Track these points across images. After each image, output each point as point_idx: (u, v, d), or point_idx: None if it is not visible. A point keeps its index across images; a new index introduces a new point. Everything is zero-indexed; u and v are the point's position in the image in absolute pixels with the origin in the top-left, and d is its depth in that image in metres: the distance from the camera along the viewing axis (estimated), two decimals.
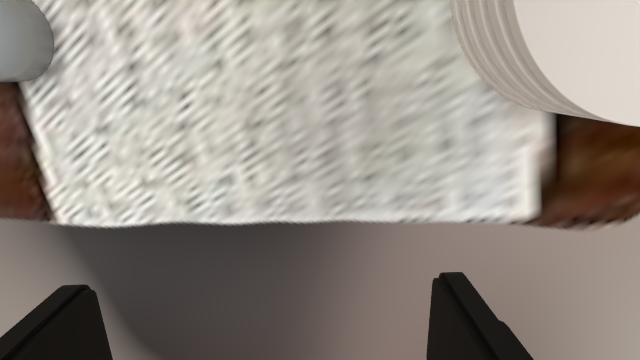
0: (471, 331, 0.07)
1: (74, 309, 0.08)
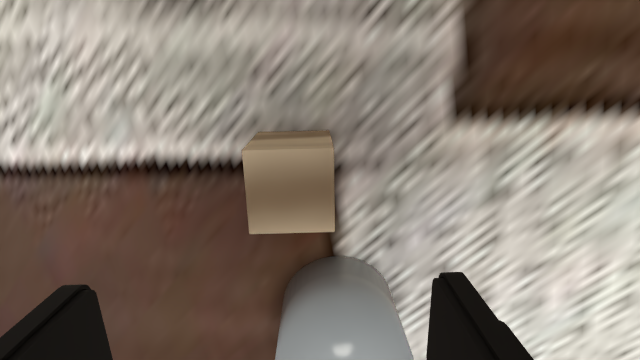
0: (471, 331, 0.07)
1: (74, 309, 0.08)
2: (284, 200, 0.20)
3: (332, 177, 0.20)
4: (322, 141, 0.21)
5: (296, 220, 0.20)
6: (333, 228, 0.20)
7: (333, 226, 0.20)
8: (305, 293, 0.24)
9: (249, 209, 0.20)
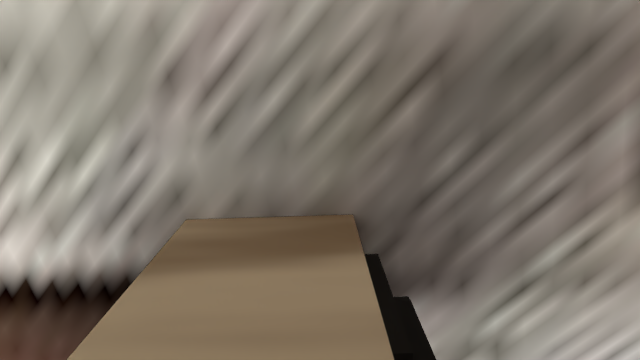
0: None
1: None
2: None
3: None
4: (346, 297, 0.07)
5: None
6: None
7: None
8: None
9: None
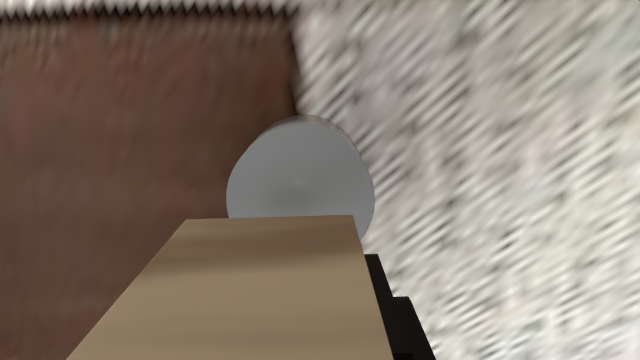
0: None
1: None
2: None
3: None
4: (345, 297, 0.07)
5: None
6: None
7: None
8: (262, 134, 0.23)
9: None
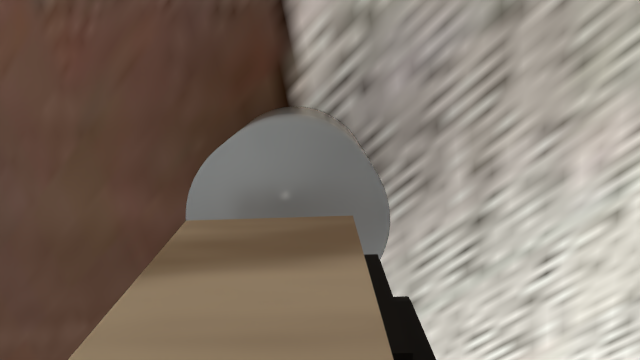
0: None
1: None
2: None
3: None
4: (346, 298, 0.07)
5: None
6: None
7: None
8: None
9: None
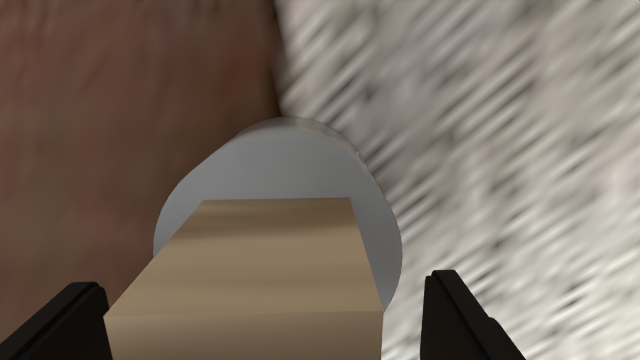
0: (461, 327, 0.07)
1: (84, 305, 0.08)
2: None
3: None
4: (342, 256, 0.08)
5: None
6: None
7: None
8: (223, 145, 0.15)
9: None
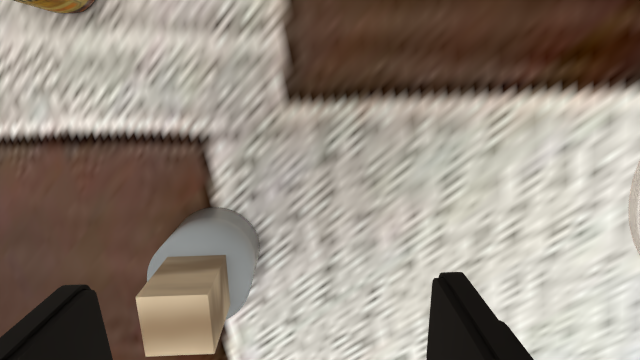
0: (471, 331, 0.07)
1: (74, 309, 0.08)
2: (171, 331, 0.25)
3: (208, 314, 0.25)
4: (207, 279, 0.27)
5: (182, 346, 0.26)
6: (212, 351, 0.26)
7: (212, 349, 0.26)
8: (178, 229, 0.33)
9: (144, 338, 0.25)
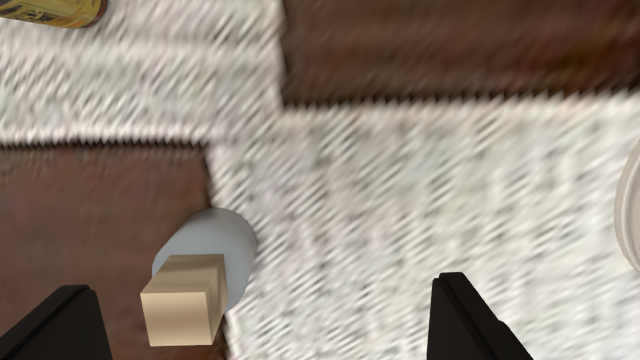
0: (471, 331, 0.07)
1: (74, 309, 0.08)
2: (173, 324, 0.28)
3: (206, 310, 0.28)
4: (205, 277, 0.29)
5: (183, 337, 0.28)
6: (210, 342, 0.29)
7: (210, 341, 0.29)
8: (180, 228, 0.35)
9: (149, 330, 0.28)
